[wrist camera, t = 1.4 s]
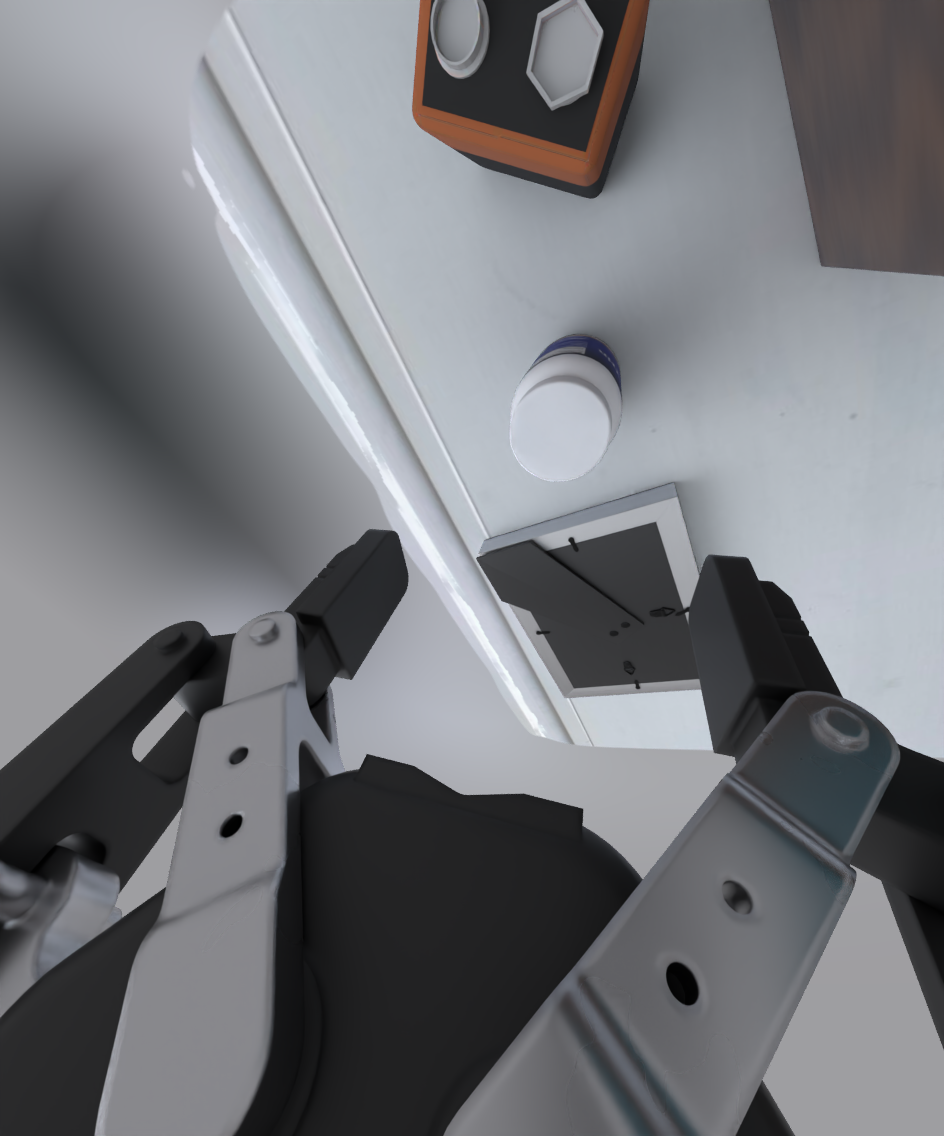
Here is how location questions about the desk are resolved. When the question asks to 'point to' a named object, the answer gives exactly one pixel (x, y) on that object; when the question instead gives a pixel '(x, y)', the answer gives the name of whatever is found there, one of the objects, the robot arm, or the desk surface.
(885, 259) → the stand
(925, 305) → the desk surface
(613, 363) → the pill bottle
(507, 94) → the battery
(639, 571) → the picture frame
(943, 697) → the desk surface
